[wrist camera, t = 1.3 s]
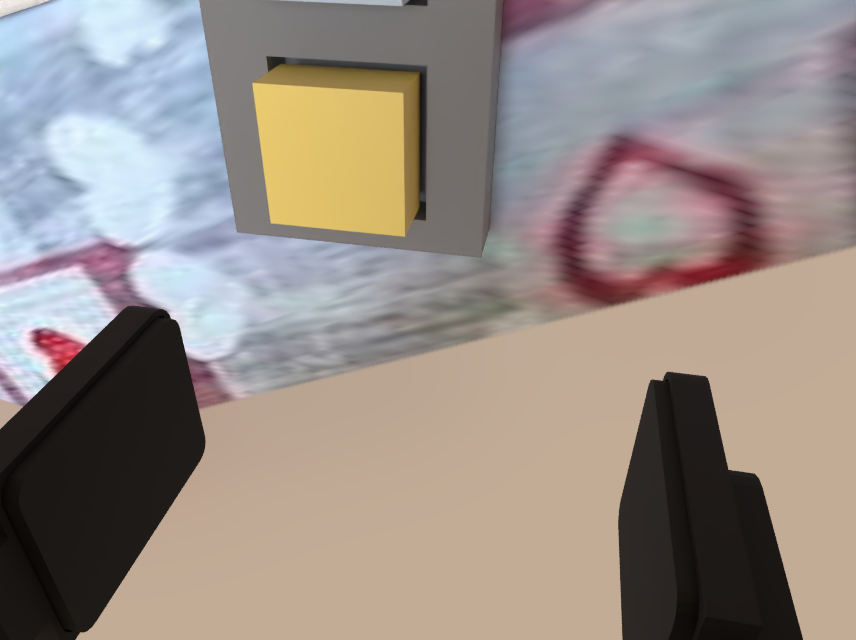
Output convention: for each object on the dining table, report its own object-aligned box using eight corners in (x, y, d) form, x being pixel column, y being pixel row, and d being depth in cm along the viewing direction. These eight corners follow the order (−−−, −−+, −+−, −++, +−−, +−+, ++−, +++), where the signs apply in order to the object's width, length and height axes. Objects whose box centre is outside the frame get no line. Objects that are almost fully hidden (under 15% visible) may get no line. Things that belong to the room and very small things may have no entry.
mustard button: (419, 72, 28) (403, 92, 26) (419, 206, 32) (405, 236, 29) (280, 63, 29) (252, 83, 27) (294, 195, 33) (270, 223, 30)
